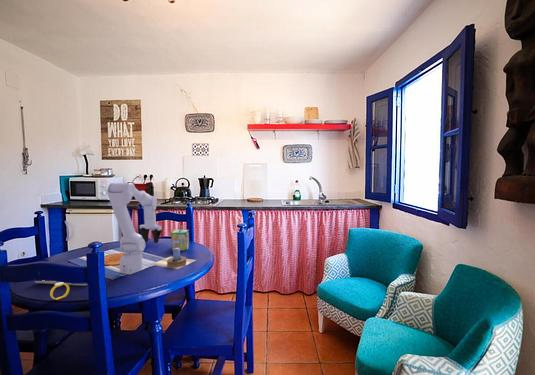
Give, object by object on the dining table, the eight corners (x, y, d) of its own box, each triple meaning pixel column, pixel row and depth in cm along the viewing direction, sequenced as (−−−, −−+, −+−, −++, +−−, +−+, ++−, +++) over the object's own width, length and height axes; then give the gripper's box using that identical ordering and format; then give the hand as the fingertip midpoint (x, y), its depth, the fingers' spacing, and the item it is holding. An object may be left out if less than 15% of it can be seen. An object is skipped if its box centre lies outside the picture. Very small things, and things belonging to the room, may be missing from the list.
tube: (96, 273, 119) (47, 270, 123) (86, 274, 114) (36, 271, 118) (93, 286, 118) (44, 283, 121) (84, 287, 112) (33, 284, 116)
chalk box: (174, 247, 170) (173, 224, 169) (189, 246, 171) (188, 223, 170) (171, 252, 161) (170, 227, 160) (186, 251, 162) (185, 226, 161)
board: (177, 270, 131) (177, 269, 131) (150, 265, 138) (150, 264, 138) (196, 261, 143) (196, 260, 143) (171, 257, 151) (171, 256, 151)
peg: (177, 265, 136) (176, 249, 135) (172, 264, 137) (171, 249, 137) (181, 263, 139) (180, 248, 138) (176, 262, 140) (176, 247, 139)
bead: (177, 268, 132) (177, 263, 132) (163, 265, 136) (163, 260, 136) (189, 262, 140) (189, 257, 140) (176, 260, 144) (176, 255, 144)
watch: (53, 302, 101) (51, 287, 100) (50, 301, 102) (47, 286, 102) (71, 295, 106) (69, 280, 105) (67, 293, 108) (65, 279, 107)
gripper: (165, 217, 148) (166, 241, 149) (146, 215, 154) (147, 239, 155) (155, 219, 142) (156, 244, 142) (136, 218, 148) (137, 242, 149)
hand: (151, 242), depth 148 cm, fingers open, 7 cm apart
